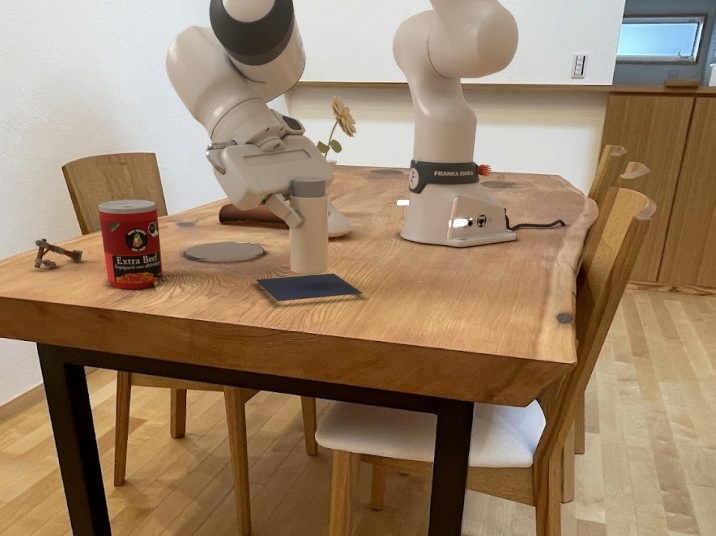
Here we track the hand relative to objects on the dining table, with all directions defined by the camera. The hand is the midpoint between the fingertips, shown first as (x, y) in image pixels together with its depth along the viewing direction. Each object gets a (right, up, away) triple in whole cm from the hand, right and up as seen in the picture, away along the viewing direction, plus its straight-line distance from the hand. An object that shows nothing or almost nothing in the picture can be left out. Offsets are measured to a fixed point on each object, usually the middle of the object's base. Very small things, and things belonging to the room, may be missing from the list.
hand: (313, 221), depth 88 cm
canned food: (-26, -7, +7) cm, 28 cm away
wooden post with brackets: (-40, -3, +15) cm, 42 cm away
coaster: (-16, +1, +24) cm, 29 cm away
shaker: (-1, -6, +3) cm, 7 cm away
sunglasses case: (-11, +11, +49) cm, 52 cm away
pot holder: (-1, -9, +4) cm, 10 cm away
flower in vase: (+1, +7, +40) cm, 41 cm away
